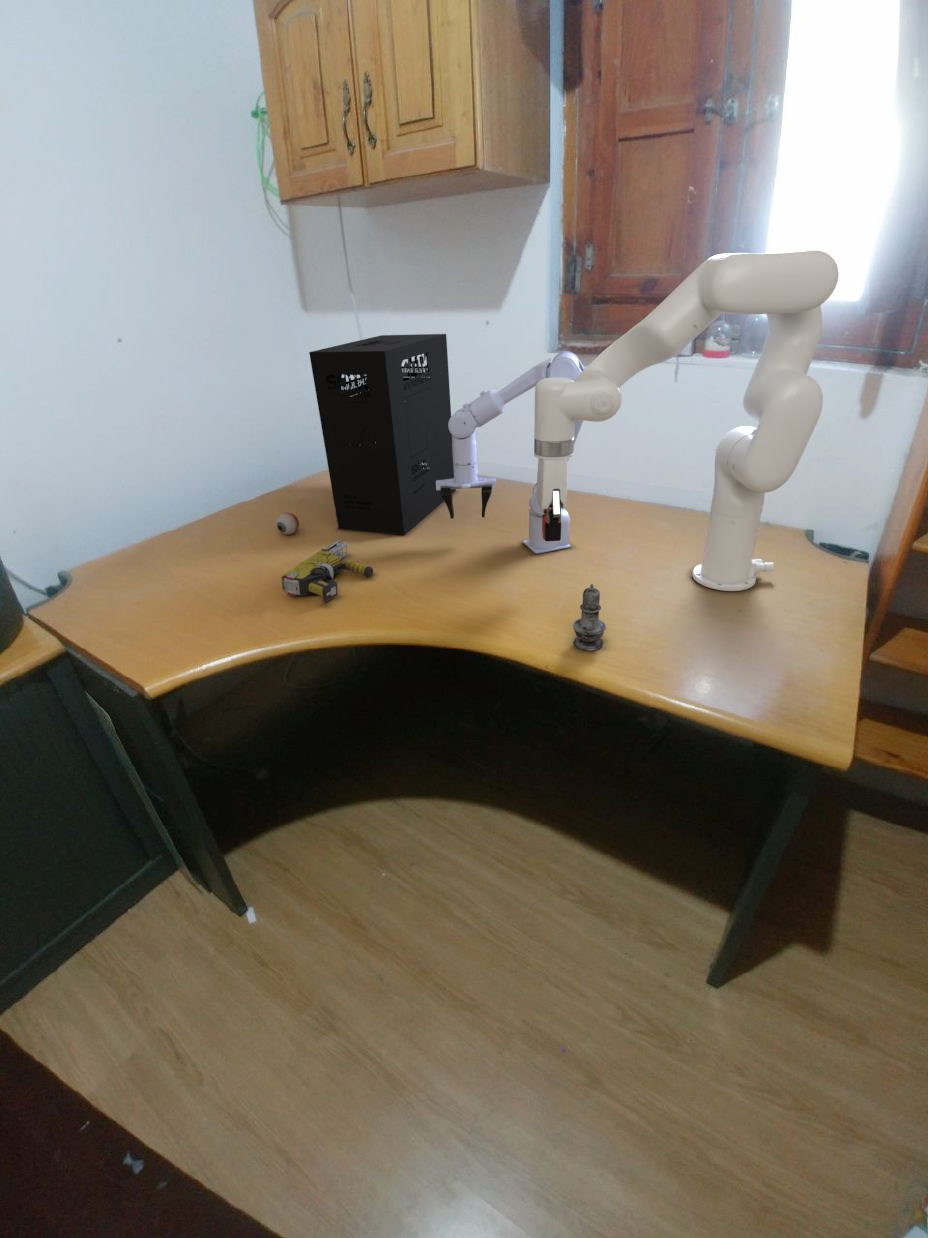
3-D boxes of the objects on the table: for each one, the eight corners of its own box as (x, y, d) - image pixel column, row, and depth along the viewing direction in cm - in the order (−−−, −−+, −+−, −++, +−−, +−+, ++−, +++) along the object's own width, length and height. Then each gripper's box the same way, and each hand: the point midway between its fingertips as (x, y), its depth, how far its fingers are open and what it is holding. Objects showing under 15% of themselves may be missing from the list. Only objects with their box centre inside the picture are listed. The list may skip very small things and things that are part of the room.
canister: (539, 538, 125) (539, 518, 122) (548, 533, 127) (549, 513, 125) (553, 542, 123) (554, 521, 120) (562, 536, 125) (563, 516, 123)
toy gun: (389, 548, 145) (334, 537, 149) (339, 588, 125) (277, 575, 129) (389, 566, 147) (335, 555, 151) (340, 608, 127) (279, 595, 131)
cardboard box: (397, 486, 197) (381, 335, 174) (455, 490, 190) (446, 333, 168) (338, 528, 167) (309, 351, 144) (404, 535, 160) (384, 350, 137)
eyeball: (273, 537, 164) (268, 516, 161) (287, 528, 169) (282, 508, 166) (291, 539, 161) (286, 518, 158) (305, 530, 166) (301, 510, 163)
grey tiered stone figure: (604, 652, 107) (609, 592, 101) (571, 650, 108) (573, 591, 102) (604, 635, 112) (609, 577, 106) (572, 633, 113) (575, 575, 107)
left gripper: (433, 468, 140) (437, 523, 147) (495, 465, 139) (497, 521, 146) (435, 459, 146) (439, 513, 153) (495, 457, 145) (496, 511, 152)
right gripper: (530, 437, 123) (529, 522, 132) (539, 459, 108) (537, 553, 117) (566, 436, 122) (563, 521, 132) (580, 457, 108) (576, 552, 117)
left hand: (467, 516), depth 150 cm, fingers open, 7 cm apart
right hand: (551, 535), depth 124 cm, fingers closed on canister, 3 cm apart
